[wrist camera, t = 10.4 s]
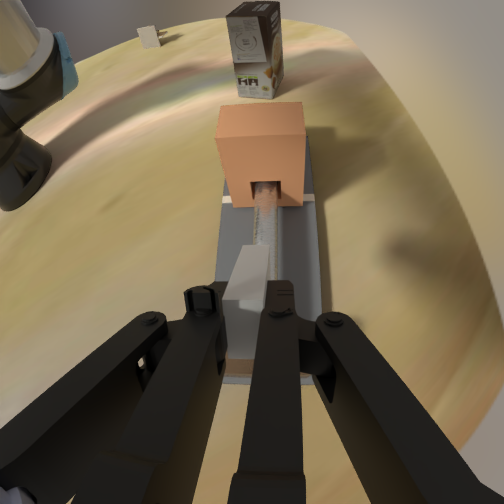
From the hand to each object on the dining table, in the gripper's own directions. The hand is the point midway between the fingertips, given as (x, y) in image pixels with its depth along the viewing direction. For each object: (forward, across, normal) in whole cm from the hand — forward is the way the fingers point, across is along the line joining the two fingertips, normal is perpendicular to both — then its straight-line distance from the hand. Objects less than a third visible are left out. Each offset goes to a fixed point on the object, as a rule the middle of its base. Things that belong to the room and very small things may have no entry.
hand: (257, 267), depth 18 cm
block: (+21, 0, +2) cm, 21 cm away
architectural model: (+62, -31, +38) cm, 79 cm away
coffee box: (+41, -1, +19) cm, 45 cm away
